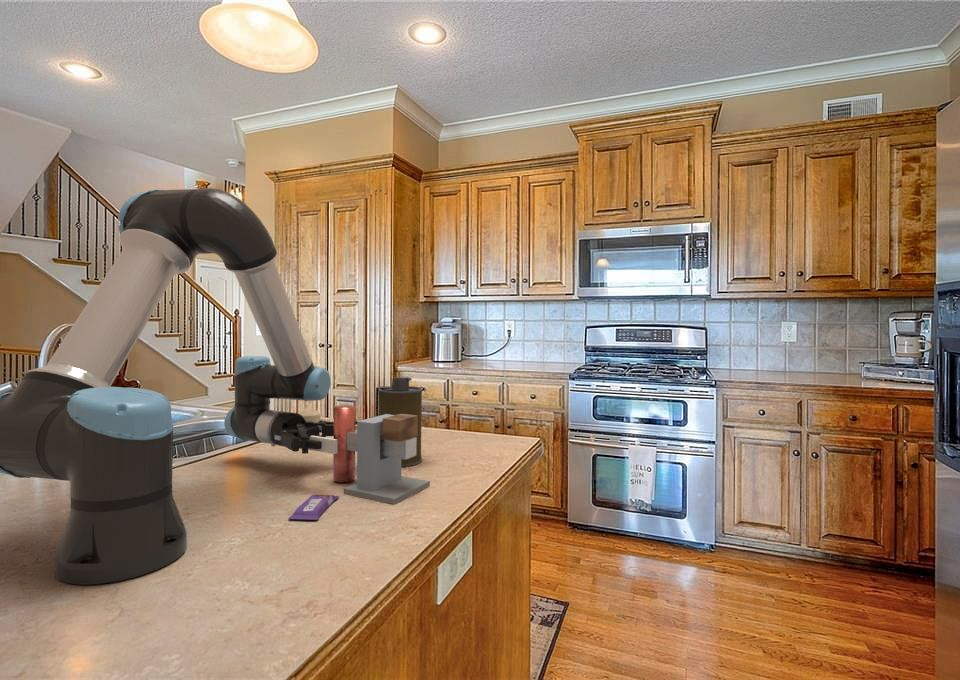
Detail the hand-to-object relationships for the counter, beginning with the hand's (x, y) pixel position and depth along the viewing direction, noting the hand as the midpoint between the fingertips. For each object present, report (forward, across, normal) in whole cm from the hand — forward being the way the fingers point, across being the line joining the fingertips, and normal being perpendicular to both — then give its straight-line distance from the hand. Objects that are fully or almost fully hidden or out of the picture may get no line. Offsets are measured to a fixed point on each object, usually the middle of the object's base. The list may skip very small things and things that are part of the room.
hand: (358, 440), depth 106 cm
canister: (-3, -18, -9) cm, 20 cm away
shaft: (+4, 0, -9) cm, 9 cm away
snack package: (+3, +15, -10) cm, 18 cm away
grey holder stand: (+8, 0, -9) cm, 12 cm away
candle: (-32, -18, -9) cm, 37 cm away
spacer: (+10, 0, +2) cm, 11 cm away
